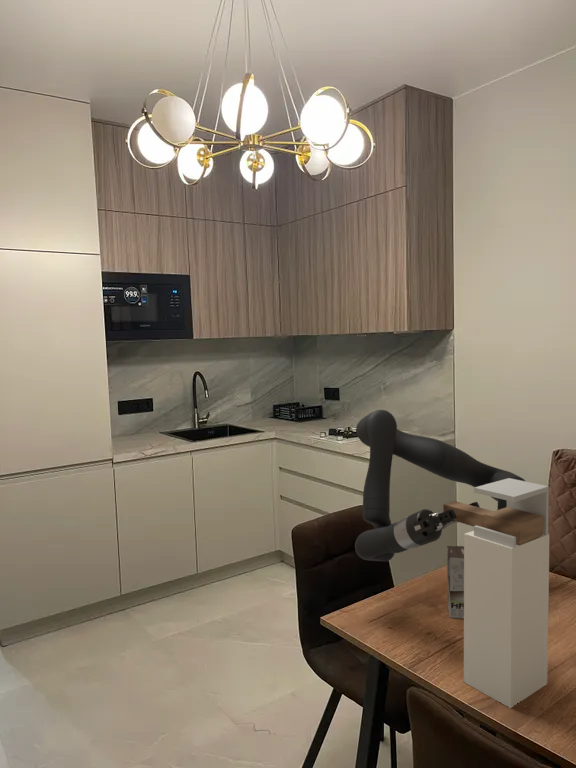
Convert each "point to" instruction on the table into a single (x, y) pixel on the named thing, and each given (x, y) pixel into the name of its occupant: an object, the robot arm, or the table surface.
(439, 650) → the table surface
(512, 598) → the stand
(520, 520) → the wooden plank block
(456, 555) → the coffee box
